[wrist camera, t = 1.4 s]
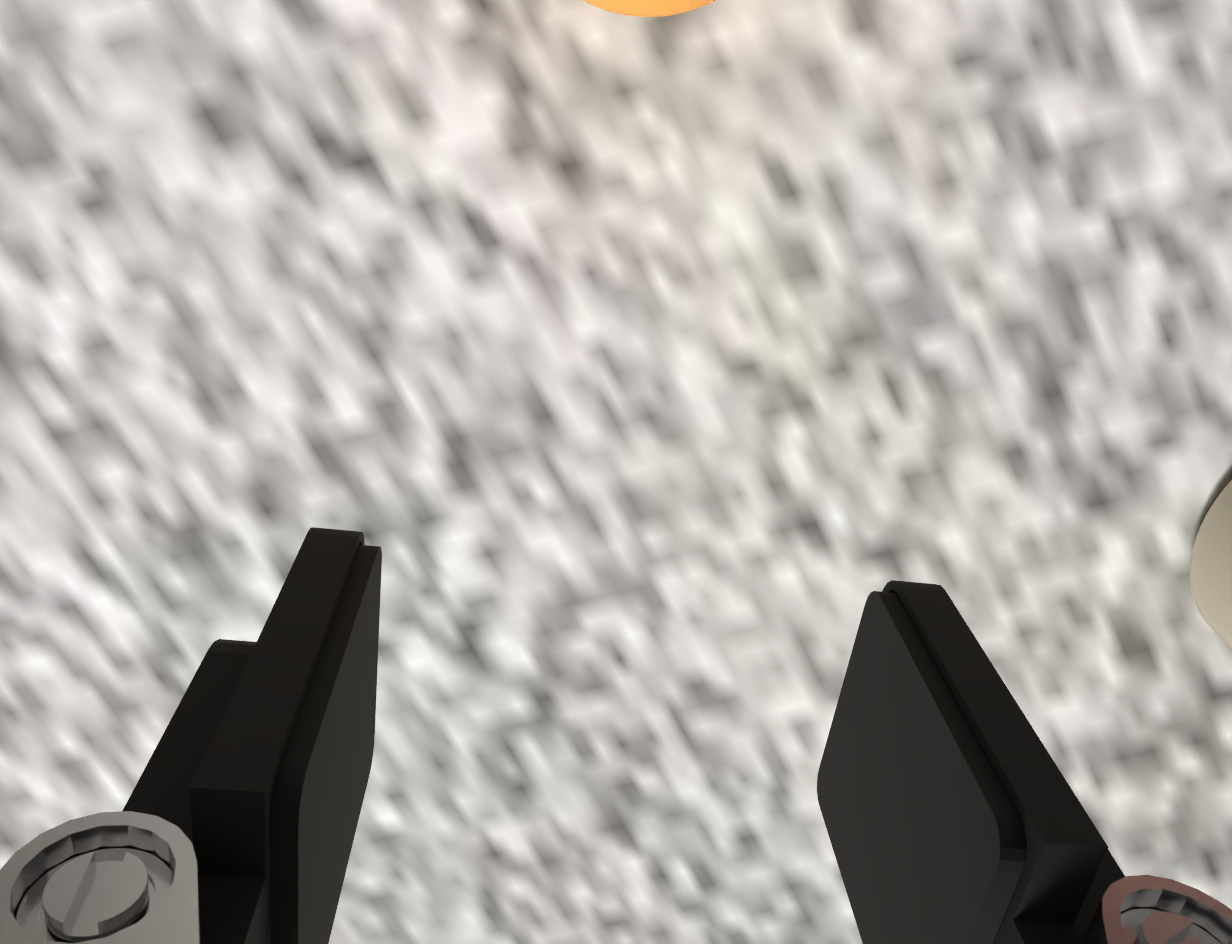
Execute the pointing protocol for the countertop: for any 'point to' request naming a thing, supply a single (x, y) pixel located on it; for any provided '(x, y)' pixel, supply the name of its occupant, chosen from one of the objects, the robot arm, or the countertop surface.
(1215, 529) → the travel mug
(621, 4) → the ball
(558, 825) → the countertop surface
